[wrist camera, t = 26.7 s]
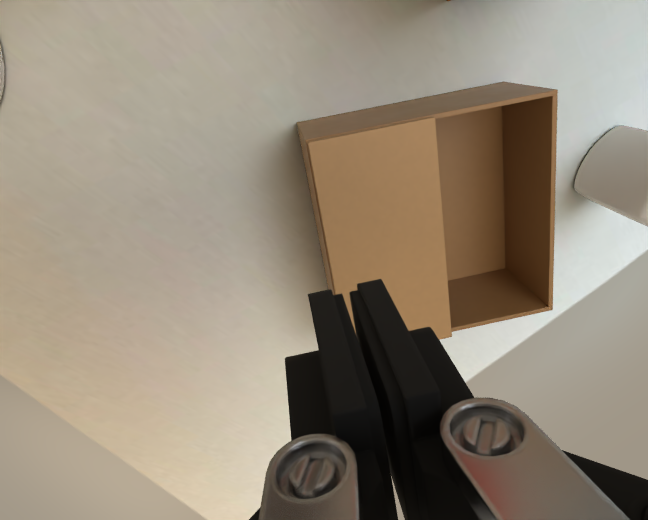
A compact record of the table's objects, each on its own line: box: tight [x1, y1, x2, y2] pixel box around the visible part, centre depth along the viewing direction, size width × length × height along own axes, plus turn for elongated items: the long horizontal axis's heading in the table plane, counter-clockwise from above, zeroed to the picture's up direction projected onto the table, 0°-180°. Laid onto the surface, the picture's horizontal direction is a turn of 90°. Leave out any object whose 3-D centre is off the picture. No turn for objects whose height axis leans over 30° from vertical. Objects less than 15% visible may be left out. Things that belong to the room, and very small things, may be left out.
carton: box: [297, 82, 558, 332], centre depth 34 cm, size 15×15×7 cm
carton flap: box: [307, 117, 452, 339], centre depth 30 cm, size 7×14×1 cm, turn 10°
